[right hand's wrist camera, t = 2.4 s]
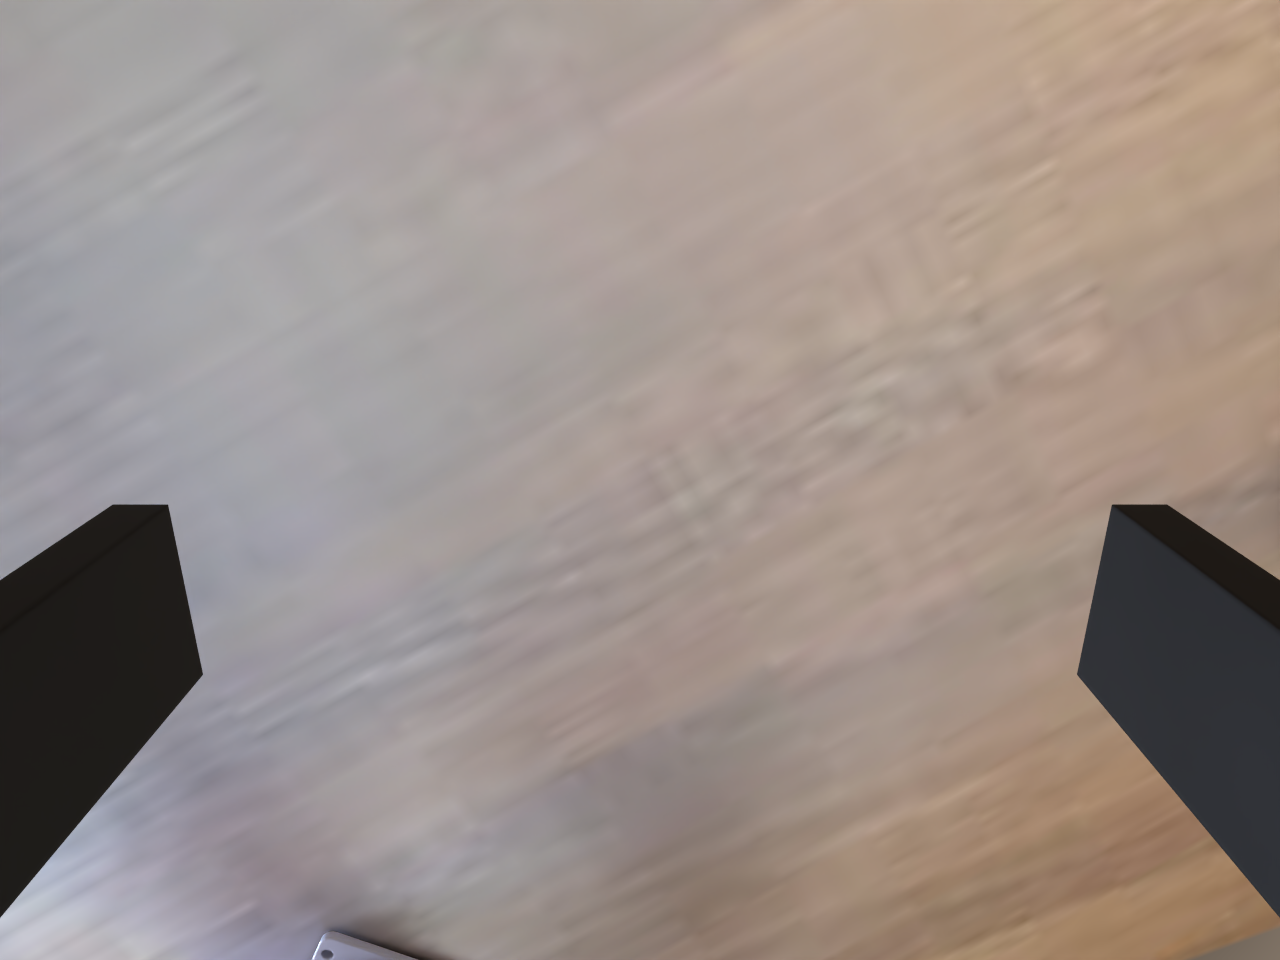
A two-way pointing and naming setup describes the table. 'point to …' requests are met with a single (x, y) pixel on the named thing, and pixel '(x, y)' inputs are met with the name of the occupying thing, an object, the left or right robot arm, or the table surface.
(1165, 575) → the right robot arm
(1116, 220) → the table surface
